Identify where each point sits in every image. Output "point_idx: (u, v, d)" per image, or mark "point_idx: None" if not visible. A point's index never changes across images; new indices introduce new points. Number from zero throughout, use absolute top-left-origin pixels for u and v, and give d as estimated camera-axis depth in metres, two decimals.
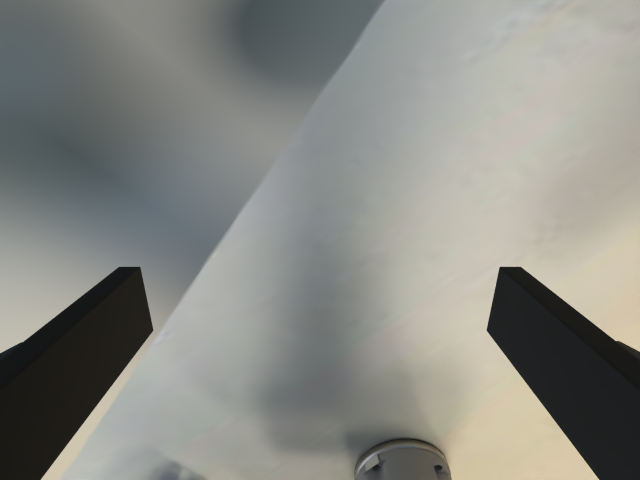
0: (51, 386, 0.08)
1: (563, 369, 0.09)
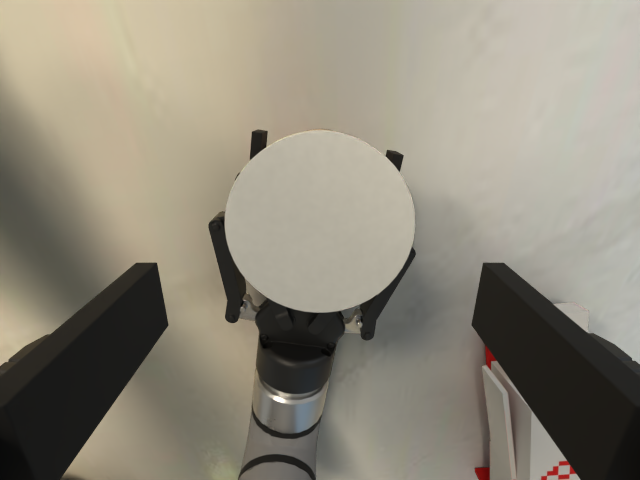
0: (79, 375, 0.09)
1: (538, 360, 0.09)
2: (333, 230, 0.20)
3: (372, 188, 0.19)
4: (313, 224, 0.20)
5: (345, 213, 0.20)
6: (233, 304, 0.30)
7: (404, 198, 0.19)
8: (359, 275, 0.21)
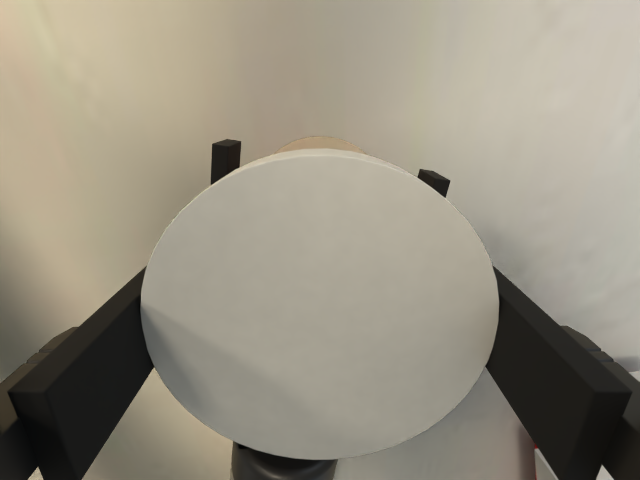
0: (107, 365, 0.09)
1: (513, 351, 0.10)
2: (345, 334, 0.11)
3: (421, 262, 0.10)
4: (307, 324, 0.11)
5: (368, 306, 0.10)
6: None
7: (482, 279, 0.10)
8: (390, 405, 0.12)
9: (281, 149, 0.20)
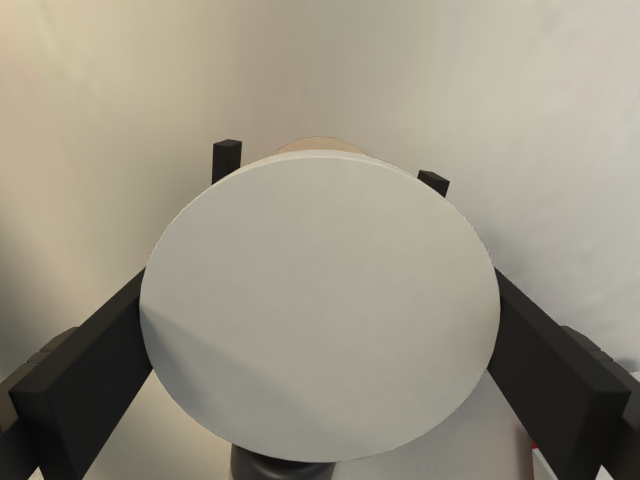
0: (108, 365, 0.09)
1: (513, 351, 0.10)
2: (303, 321, 0.10)
3: (195, 312, 0.10)
4: (316, 352, 0.11)
5: (263, 322, 0.10)
6: None
7: (166, 257, 0.10)
8: (354, 226, 0.09)
9: (282, 149, 0.20)
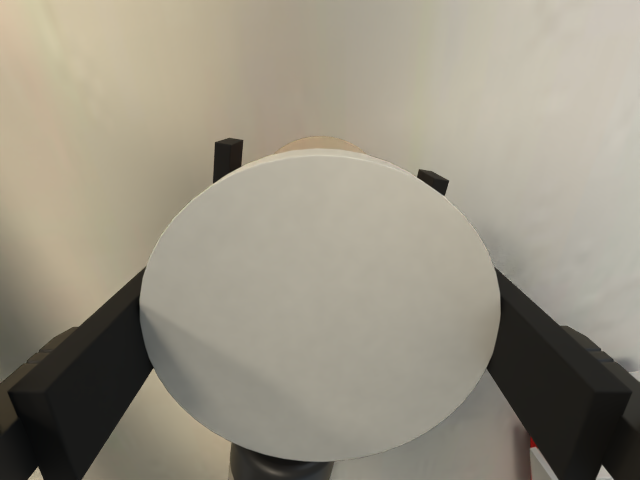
0: (107, 365, 0.09)
1: (513, 351, 0.10)
2: (313, 357, 0.11)
3: (361, 422, 0.12)
4: (336, 331, 0.11)
5: (336, 380, 0.11)
6: None
7: (328, 454, 0.12)
8: (212, 371, 0.11)
9: (282, 148, 0.21)
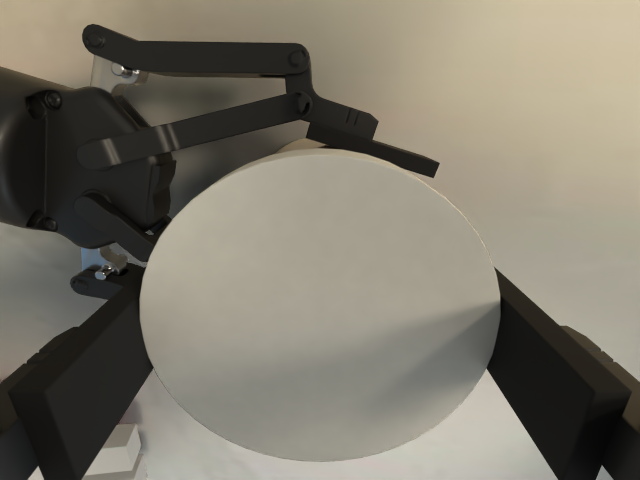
0: (107, 365, 0.09)
1: (513, 351, 0.10)
2: (313, 357, 0.11)
3: (360, 422, 0.12)
4: (336, 331, 0.11)
5: (336, 381, 0.11)
6: (128, 52, 0.15)
7: (327, 454, 0.12)
8: (211, 370, 0.11)
9: None
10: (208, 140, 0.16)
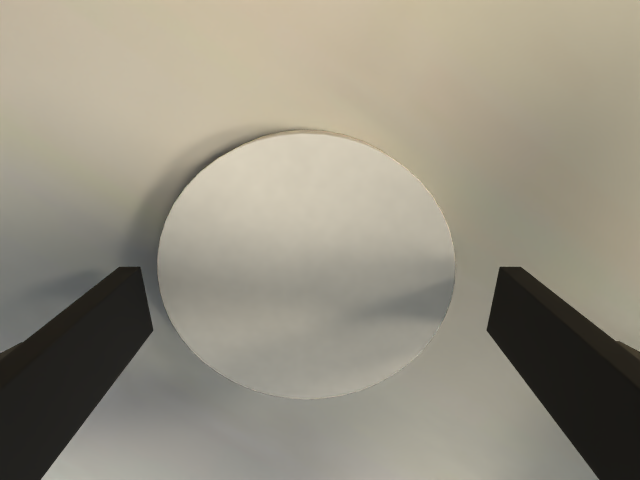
0: (51, 386, 0.08)
1: (563, 369, 0.09)
2: (302, 305, 0.13)
3: (343, 363, 0.14)
4: (321, 282, 0.13)
5: (321, 326, 0.13)
6: None
7: (315, 392, 0.15)
8: (217, 318, 0.13)
9: None
10: None
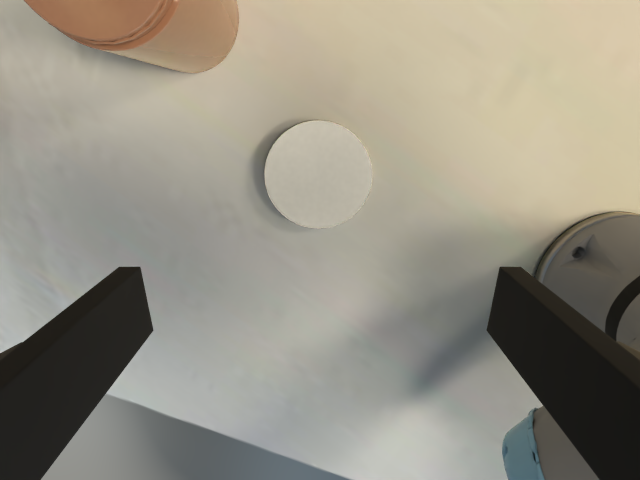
0: (51, 386, 0.08)
1: (563, 369, 0.09)
2: (316, 185, 0.35)
3: (331, 211, 0.36)
4: (323, 175, 0.35)
5: (323, 194, 0.36)
6: None
7: (321, 225, 0.37)
8: (284, 190, 0.35)
9: (230, 14, 0.29)
10: None
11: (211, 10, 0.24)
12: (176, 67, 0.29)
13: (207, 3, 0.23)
